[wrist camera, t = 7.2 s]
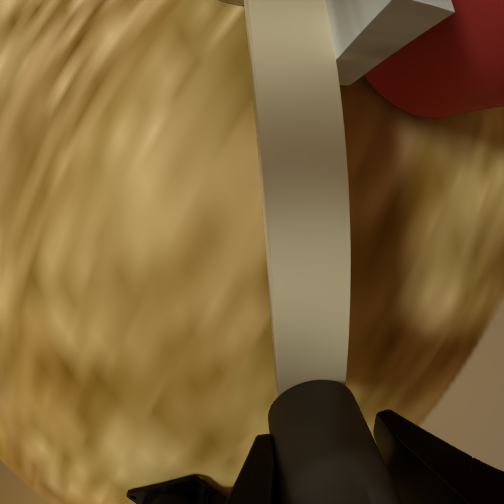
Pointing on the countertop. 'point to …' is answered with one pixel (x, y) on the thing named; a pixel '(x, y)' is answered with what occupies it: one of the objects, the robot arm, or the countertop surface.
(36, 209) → the countertop surface
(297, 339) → the lever
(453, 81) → the beer can
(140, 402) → the countertop surface
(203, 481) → the robot arm
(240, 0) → the lever base
